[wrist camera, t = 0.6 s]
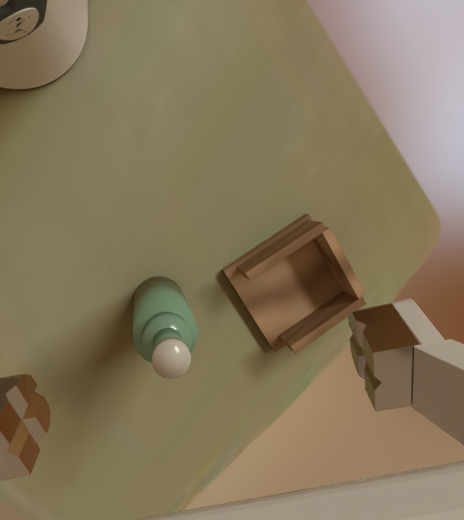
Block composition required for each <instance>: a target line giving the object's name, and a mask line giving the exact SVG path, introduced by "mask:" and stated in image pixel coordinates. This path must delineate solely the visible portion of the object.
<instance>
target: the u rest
mask: <svg viewBox="0 0 464 520" xmlns="http://www.w3.org/2000/svg"><path fill="white" fill-rule="evenodd" d="M222 270H223V272H224V274H225V275H226V277H227V278H228V280H229V281H230V283H231V285H232V286H233V288H234V289H235V291H236V293H237V294H238V296H239V297H240V299H241V300H242V302H243V304H244V305H245V307H246V308H247V310H248V311H249V313H250V315H251V316H252V318H253V319H254V321H255V323H256V324H257V326H258V327H259V329H260V330H261V332H262V334H263V335H264V337H265V338H266V340H267V341H268V343H269V345H270V346H271V348H272V349H273V350H274V352H276V351H277V350H278V349H280V348H281V347H283V346H284V345H287V346H288V347H289V348H290V349H291V350H292V351H293V352H294V353H297V352H298V351H299V350H301V349H302V348H304V347H305V346H307V345H308V344H309V343H311V342H312V341H314V340H315V339H317V338H318V337H319V336H321V335H322V334H324V333H325V332H327V331H328V330H329V329H331V328H332V327H334V326H335V325H337V324H338V323H339V322H341V321H342V320H344V319H345V318H347V317H348V315H349V311H354V310H358V309H359V308H361V307H362V306H364V305H365V304H366V302H365V301H364V299H363V296H364V295H365V294H366V293H365V292H364V290H363V288H362V286H361V284H360V282H359V281H358V279H357V277H356V275H355V273H354V271H353V269H352V268H351V266H350V264H349V262H348V260H347V258H346V257H345V255H344V253H343V251H342V249H341V247H340V245H339V244H338V242H337V240H336V238H335V236H334V234H333V233H332V231H331V229H330V228H329V227H324V225H323V223H322V222H316V221H312V219H311V217H310V216H309V214H305V215H303V216H302V217H300V218H299V219H297V220H296V221H294V222H293V223H291V224H290V225H288V226H287V227H285V228H284V229H282V230H281V231H279V232H278V233H276V234H275V235H273V236H272V237H270V238H269V239H267V240H265V241H264V242H262V243H261V244H259V245H258V246H256V247H255V248H253V249H252V250H250V251H249V252H247V253H246V254H244V255H243V256H241V257H240V258H238V259H237V260H235V261H234V262H232V263H231V264H229V265H228V266H226V267H225V268H223V269H222Z"/></svg>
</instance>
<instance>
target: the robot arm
mask: <svg viewBox="0 0 464 520" xmlns="http://www.w3.org/2000/svg"><path fill="white" fill-rule="evenodd" d="M87 27H88V0H0V87H2V88H8V89H29V88H35V87H39V86H42V85H45V84H47V83H50V82H52V81H54V80H55V79H57V78H59V77H60V76H61V75H63V74H64V73H65V72H66V71H67V70H68V69H69V68H70V67H71V66H72V65H73V64H74V62H75V61H76V59H77V58H78V56H79V54H80V53H81V50H82V48H83V46H84V43H85V39H86V34H87ZM348 321H349V326H350V328H351V330H352V333H353V335H352V336H351V338H350V346H351V353H352V357H353V361H354V364H355V367H356V369H357V372H358V374H359V376H360V377H362V378H364V379H365V390H366V392H367V394H368V396H369V398H370V400H371V403H372V405H373V407H374V409H375V411H381V410H388V409H395V408H401V407H407V406H413V408H414V409H415V410H417V411H418V412H419V413H421V414H422V415H423V416H425V417H426V418H427V419H429V420H430V421H431V422H433V423H434V424H436V425H437V426H438V427H440V428H441V429H442V430H444V431H445V432H446V433H448V434H449V435H451V436H452V437H453V438H455V439H456V440H457V441H459V442H460V443H461V444H463V445H464V344H461V343H458V342H457V341H454V340H452V339H449V340H444V339H443V337H442V336H441V335H440V333H439V332H438V331H437V330H436V328H435V327H434V326H433V325H432V323H431V322H430V321H429V320H428V318H427V317H426V316H425V315H424V313H423V312H422V311H421V309H420V308H419V307H418V306H417V304H416V303H415V302H414V301H413V300H412V299H405V300H401V301H396V302H391V303H389V304H384V305H379V306H374V307H369V308H364V309H359V310H354V311H349V315H348ZM36 386H37V384H36V382H35V381H34V379H33V378H32V376H31V375H28V374H21V375H15V376H9V377H4V378H0V481H4V480H8V479H13V478H18V477H22V476H27V475H31V473H32V470H33V467H34V465H35V462H36V460H37V457H38V455H39V452H40V449H39V446H38V444H37V443H38V442H39V441H40V440H41V439H42V438H43V437H44V436H45V435H46V434H47V431H48V428H49V425H50V409H49V405H48V403H47V401H46V399H45V397H43V396H42V395H40V394H38V393H36V392H35V389H36ZM134 520H464V461H461V462H456V463H450V464H444V465H439V466H434V467H428V468H422V469H417V470H410V471H405V472H399V473H394V474H388V475H383V476H377V477H371V478H365V479H360V480H354V481H348V482H343V483H337V484H332V485H326V486H320V487H314V488H309V489H303V490H298V491H292V492H286V493H281V494H276V495H270V496H264V497H258V498H252V499H247V500H241V501H236V502H230V503H224V504H219V505H213V506H207V507H202V508H196V509H191V510H185V511H179V512H174V513H168V514H162V515H157V516H151V517H145V518H140V519H134Z"/></svg>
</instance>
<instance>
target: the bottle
mask: <svg viewBox="0 0 464 520" xmlns="http://www.w3.org/2000/svg"><path fill="white" fill-rule="evenodd" d="M197 338H198V326H197V322H196V320H195V318H194V316H193V314H192V312H191V310H190V307H189V305H188V303H187V301H186V299H185V297H184V295H183V293H182V291H181V289H180V287H179V286H178V285H177V284H176V283H175V282H174V281H173V280H171V279H169V278H166V277H152V278H149V279H147V280H145V281H144V282H143V283H141V284H140V285H139V287H138V288H137V290H136V292H135V295H134V300H133V342H134V346H135V348H136V350H137V351H138V353H139V354H140V355H141V356H142V357H143V358H144V359H146V360H147V361H149V362H151V363H152V365H153V368H154V370H155V372H156V373H157V374H158V375H160V376H162V377H164V378H170V379H171V378H176V377H179V376H181V375H182V374H184V373H185V372H186V371H187V369H188V368H189V366H190V362H191V355H190V353H191V351H192V350H193V348H194V347H195V345H196V342H197Z"/></svg>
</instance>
